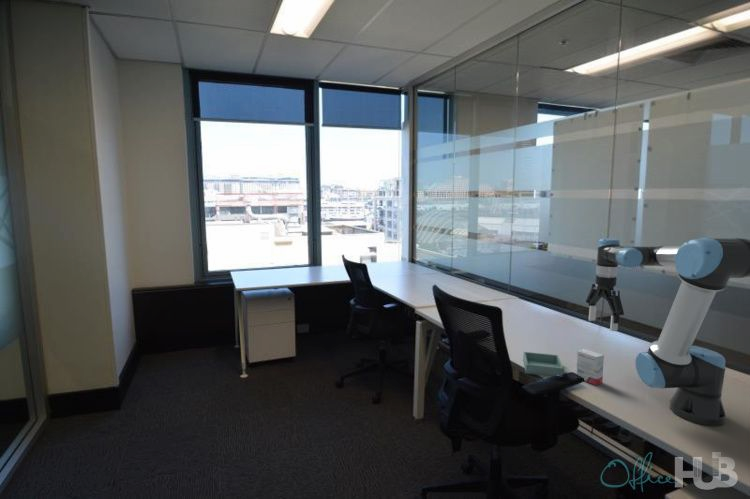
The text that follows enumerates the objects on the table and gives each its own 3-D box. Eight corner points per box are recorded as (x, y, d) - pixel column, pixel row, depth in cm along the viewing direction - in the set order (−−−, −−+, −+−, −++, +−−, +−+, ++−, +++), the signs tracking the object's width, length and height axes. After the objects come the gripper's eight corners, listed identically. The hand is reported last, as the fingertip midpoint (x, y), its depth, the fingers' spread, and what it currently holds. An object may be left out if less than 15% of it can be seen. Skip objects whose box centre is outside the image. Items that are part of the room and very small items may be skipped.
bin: (562, 377, 169) (563, 368, 169) (525, 373, 173) (526, 364, 173) (557, 363, 183) (557, 355, 183) (523, 360, 187) (523, 351, 186)
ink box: (603, 383, 165) (605, 354, 163) (596, 386, 162) (598, 357, 160) (581, 375, 172) (584, 348, 170) (575, 377, 169) (577, 350, 168)
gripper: (637, 281, 159) (632, 334, 162) (595, 270, 183) (591, 316, 186) (619, 282, 158) (615, 335, 161) (579, 270, 182) (576, 316, 185)
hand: (602, 325), depth 173 cm, fingers open, 13 cm apart
